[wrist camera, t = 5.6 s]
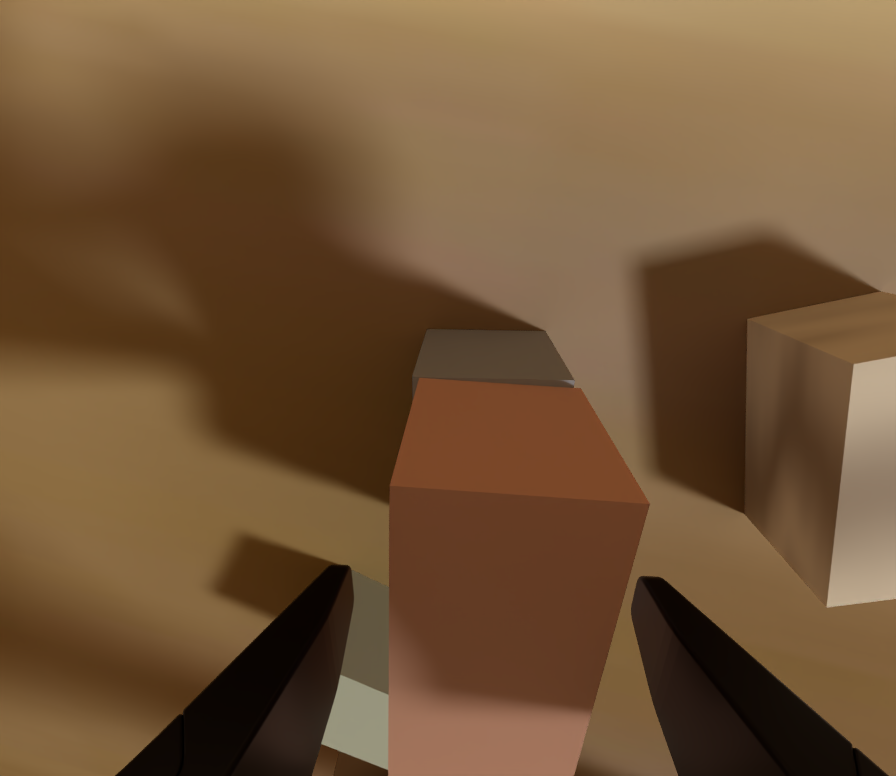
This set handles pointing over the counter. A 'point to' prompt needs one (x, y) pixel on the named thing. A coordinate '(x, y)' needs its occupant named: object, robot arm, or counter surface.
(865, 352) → the birch block
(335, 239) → the counter surface
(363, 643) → the sage block
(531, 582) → the terracotta block
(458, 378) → the slate block
